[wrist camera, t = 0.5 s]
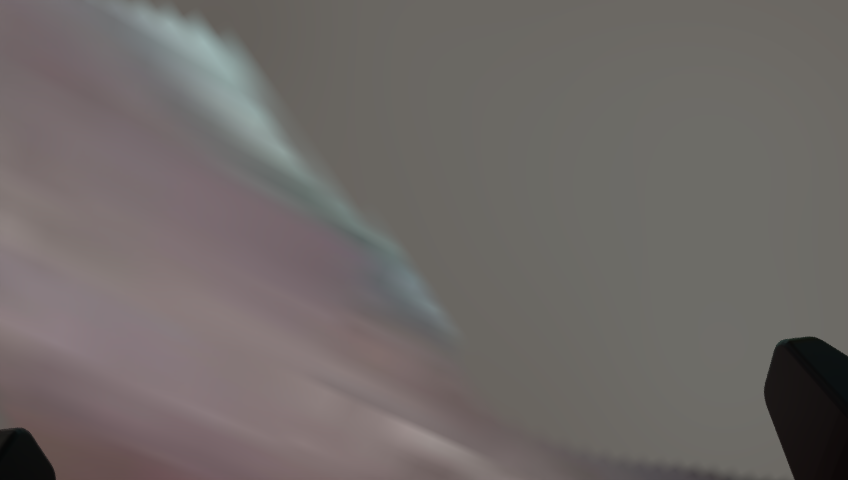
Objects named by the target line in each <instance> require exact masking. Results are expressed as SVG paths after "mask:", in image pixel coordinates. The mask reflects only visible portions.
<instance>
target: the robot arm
mask: <svg viewBox="0 0 848 480" xmlns="http://www.w3.org/2000/svg"><path fill="white" fill-rule="evenodd" d="M764 396H765V401H766V405H767V408H768V411H769V413H770V416H771V419H772V421H773V424H774V426H775V429H776V432H777V434H778V437H779V440H780V442H781V445H782V448H783V450H784V453H785V456H786V458H787V461H788V464H789V466H790V469H791V472H792V474H793V477H794V479H795V480H848V356H847V355H845V354H843V353H841V352H840V351H839V350H837V349H836V348H834V347H832V346H831V345H829V344H827V343H826V342H824V341H823V340H820V339H818V338H816V337H801V338H792V339H785V340H781V341H780V342H779V343H778V344H777V345H776V347H775V350H774V353H773V357H772V360H771V364H770V368H769V371H768V374H767V378H766V382H765V387H764ZM0 480H56V477H55V472H54V469H53V466H52V465H51V463H50V462H49V460H48V459H47V457H46V456H45V454H44V453H43V451H42V450H41V448H40V447H39V445H38V444H37V442H36V441H35V439H34V438H33V436H32V434H31V433H30V432H29V431H28V430H26V429H24V428H9V429H1V430H0Z"/></svg>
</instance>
